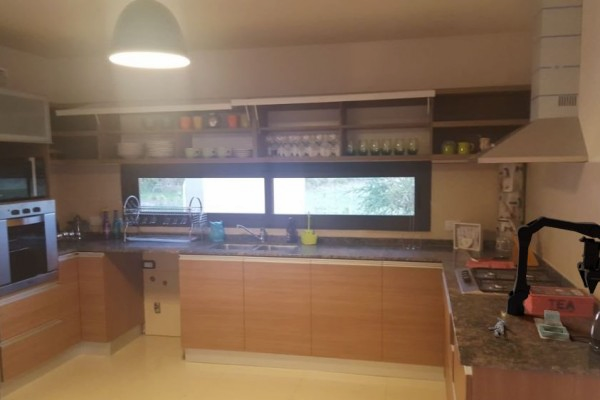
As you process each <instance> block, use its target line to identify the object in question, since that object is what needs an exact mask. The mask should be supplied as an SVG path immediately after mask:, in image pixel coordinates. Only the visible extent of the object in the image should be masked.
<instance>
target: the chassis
mask: <svg viewBox="0 0 600 400" xmlns="http://www.w3.org/2000/svg"><path fill="white" fill-rule="evenodd" d="M533 321H534V323H535V326H536V330H537V331H538V335H539V337H540V339H545V340H546V339H547V340H549V341H548V342H551V341H550V340H552V341H553V340H556V341H562V342H565V343H564V344H567V343H566V342H568V343H569V342H570V343H572V340H571V339H570V333H569V332H568V330H567V328H566V326H564V325H563V324H562V321H561V320H560V323H559V326H550V325H545V323H544V318H539V317H533ZM541 341H543V340H541ZM556 343H559V342H556Z"/></svg>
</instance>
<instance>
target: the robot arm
mask: <svg viewBox="0 0 600 400" xmlns="http://www.w3.org/2000/svg"><path fill="white" fill-rule="evenodd" d="M545 227H548V228H553V229H558V230H564V231H570V232H576V233H578V234H580V235H583V236H581V237H580V238H579V239H578V241H579V242H580V243H583V251H582V252H583V253H582V254H581V257H582V261H578V262H577V264H576V268H577V271H578V274H579V277H580V279H581V281H582V284H583V286H584V288H586V289H587V290H588V291H589V292H588V293H589V294H590V295H594V293H595V291H596V288H597V286H598V284H599V283H600V224H598V223H596V222H593V221H571V220H565V219H559V218H553V217H547V216H544V215H541V216H539V217H537V218H536V219H534V220H532V221H529V222H528V223H526V224H520V225H519V226H517V228H516V237H517V244H518V251H517V252H518V253H517V268H516V269H517V270H516V271H517V272H516V278H515V281H514V284H513V287H512V290H510V291H509V292H507V299H506V314H508V315H511V316H525V312H526V311H525V310H526V309H525V308H526V307H525V304H524V301H526V300H527V299H528V298H529V295H531V288H532V287H531V286H532V285H531V281H528V280H527V278H528V277H527V276H528V263H529V262H528V257H529V247H530V245H531V241H532V239H533V235H534V234H536V233H537V232H538V231H540V230H542V229H543V228H545ZM596 239H598V240H596Z"/></svg>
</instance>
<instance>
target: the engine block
mask: <svg viewBox="0 0 600 400" xmlns="http://www.w3.org/2000/svg"><path fill="white" fill-rule="evenodd" d="M543 313H544V314H543V315H544V316H543V319H544V323H545V325H550V326H559V323H560V321H561V314H560V311H559V310H558V311H557V310H550V309H549V310H548V309H544V311H543Z"/></svg>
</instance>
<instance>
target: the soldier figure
mask: <svg viewBox="0 0 600 400" xmlns="http://www.w3.org/2000/svg"><path fill="white" fill-rule="evenodd" d="M496 319H497V323H496V324H495V326H494V327H493V326H492V327H488V328H487V330H488V329H489V330H494V333H493V335H494V336H495V337H497V338H500V335H499V334H502V335H504V334H505V332H504V331H505V327H504V326H505V324H507V320H506V319H505V318H500V317H497V318H496Z"/></svg>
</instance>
